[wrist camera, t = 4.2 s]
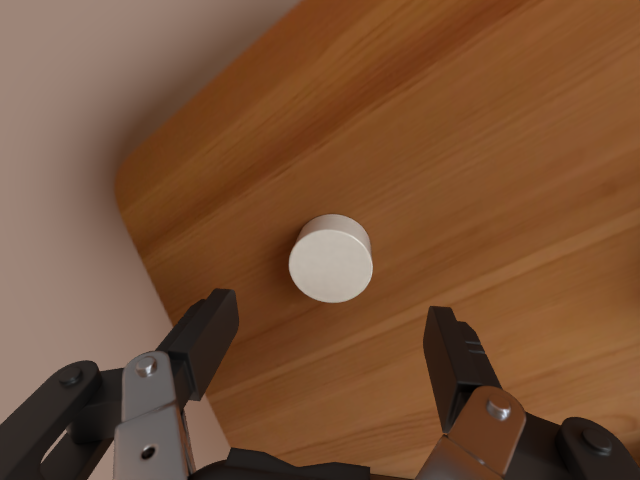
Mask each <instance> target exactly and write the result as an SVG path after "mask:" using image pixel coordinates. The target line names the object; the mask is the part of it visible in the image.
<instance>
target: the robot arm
mask: <svg viewBox="0 0 640 480" xmlns="http://www.w3.org/2000/svg"><path fill="white" fill-rule="evenodd" d="M238 326H239V316H238V309H237V302H236V295H235V291H234V290H231V289H218V288H216V289H214V290H213V291H212V293H211V294H210V295H209V297H208V298H207V299H206V300H205V299H201V300H200V301H198V302H197V303H195V304H194V305H192V306H191V307H190V308H189V309H188V311H187V312H186V313H185V314H184V317H182V318H181V319H180V320H179V322H178V324H176V325H175V326H174V328H173V329H172V330H171V331H170V333H169V334H168V335H167V336H166V337H165V339H164V340H163V341H162V342H161V344H160V345H159V346H158V348H157V349H156V350H155V351H149V352H146V353H143V354H141V355H139V356H137V357H135V358H134V359H133V360H131V361H130V362H129V363H128V364H127V365H126V367H125V368H119V369H112V370H106V371H99V368H98V366H97V364H96V363H95V362H93V361H87V360H86V361H79V362H75V363H72V364H69V365H67V366H65V367H63V368H61V369H60V370H58V371H57V372H55V373H54V374H53V375H52V376H51V377H50V378H48V379H47V380H46V381H45V383H43V384H42V385H41V386H40V387H39V388H38V389H37V390H36V391H35V392H34V393H33V394H32V395H31V396H30V397H29V398H28V399H27V400H26V401H25V402H24V403H23V404H21V405H20V407H18V408H17V409H16V410H15V411H14V412H13V413H12V414H11V415H10V416H9V417H8V418H7V419H6V420H5V421H4V422H3V423H2V424H1V425H0V480H87V479H88V477H89V476H90V475H91V473H92V472H93V470H94V469H95V467H96V466H97V464H98V463H99V461H100V460H101V458H102V457H103V455H104V454H105V452H106V451H107V449H108V448H109V446H110V444H111V443H112V441H113V440H114V465H113V480H370V467H367V466H360V465H353V464H345V463H338V462H331V463H324V464H317V465H310V466H303V467H295V466H293V465H291V464H289V463H286V462H284V461H282V460H280V459H278V458H276V457H274V456H271V455H269V454H267V453H265V452H260V451H253V450H246V449H239V448H232V447H231V449H230V452H229V455H228V457H227V460H222V461H218V462H215V463H212V464H209V465H207V466H205V467H203V468H201V469H199V470H197V471H196V467H195V464H194V459H193V454H192V448H191V443H190V437H189V432H188V427H187V421H186V416H185V411H184V407H185V405H186V403H187V402H188V400H193V401H200V400H201V398H202V396H203V395H204V393H205V391H206V389H207V387H208V385H209V383H210V382H211V380H212V378H213V376H214V374H215V372H216V370H217V369H218V367H219V365H220V363H221V361H222V359H223V357H224V355H225V354H226V352H227V350H228V348H229V346H230V344H231V342H232V340H233V339H234V337H235V335H236V333H237V330H238ZM423 348H424V354H425V359H426V363H427V367H428V371H429V376H430V380H431V384H432V388H433V393H434V397H435V401H436V405H437V410H438V414H439V418H440V422H441V427H442V431H443V433H448V434H447V435H445V434H444V435H443V436H442V437H441V438H440V440H439V441H438V443H437V444H436V446H435V447H434V449H433V451H432V452H431V454H430V456H429V457H428V459H427V460H426V462H425V464H424V465H423V467H422V468H421V470H420V472H419V473H418V475H417V476H416V478H415V480H640V468H639V467H638V465H637V464H636V462H635V461H634V459H633V458H632V457H631V455H630V454H629V452H628V451H627V449H626V448H625V446H624V445H623V444H622V443H621V442H620V440H619V439H618V438H617V437H615V436H614V435H613V434H612V433H611V432H609V431H608V430H607V429H605V428H604V427H602V426H600V425H599V424H597V423H595V422H593V421H590V420H587V419H584V418H580V417H570V418H567V419H565V420H564V421H563V423H562V425H558V424H555V423H552V422H550V421H547V420H544V419H542V418H539V417H536V416H534V415H532V414H529V413H528V412H526V411H524V408H523V407H522V405H521V404H520V403H519V402H518V400H517V399H516V398H514V397H513V396H512V395H511V394H509V393H508V392H506V391H504V390H503V389H502V387H501V385H500V383H499V381H498V378H497V376H496V374H495V372H494V370H493V368H492V366H491V364H490V362H489V359H488V357H487V355H486V354H485V351H484V349H483V347H482V345H481V343H480V340H479V338H478V336H477V334H476V332H475V331H474V330H473V329H472V328H471V327H470V326H469V325H468V324H467V323H466V322H460V321H457V320H456V318H455V315H454V313H453V311H452V309H451V308H450V307H439V306H430V308H429V311H428V316H427V321H426V326H425V332H424V337H423ZM65 429H66V431H67V433H66V434H65V435H64V437H63V438H62V439H61V440H60V441H59V443H58V444H57V445H56V446H55V447H54V449H53V450H52V451H51V452H50V453H49V455H48V456H47V457H46V458H45V460H44V461H43V462H42V463H41V460H42V458H43V456H44V455H45V453H46V452H47V450H48V449H49V448H50V447H51V446H52V444H53V443H54V442H55V441H56V440H57V438H58V437H59V436H60V435H61V434H62V432H63V431H64V430H65Z"/></svg>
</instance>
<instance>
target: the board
mask: <svg viewBox="0 0 640 480" xmlns="http://www.w3.org/2000/svg"><path fill="white" fill-rule="evenodd" d="M370 480H410V479H402V478H395V477H387V476H380V475H373V474H370Z"/></svg>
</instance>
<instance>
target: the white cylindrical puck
mask: <svg viewBox="0 0 640 480" xmlns="http://www.w3.org/2000/svg"><path fill="white" fill-rule="evenodd" d="M289 271H290V275H291V277H292V279H293V281H294V283H295V284H296V286H297V287H298V288H299V289H300V290H301V291H302V292H303V293H305V294H306V295H308V296H309V297H311V298H313V299H316V300H318V301H322V302H328V303H337V302H343V301H347V300H350V299H352V298H354V297H356V296H357V295H359V294H360V293H361V292H362V291H363V290H364V289H365V288H366V286H367V285H368V283H369V281H370V279H371V276H372V271H373V264H372V252H371V243H370V239H369V237H368V235H367V233H366V231H365V230H364V229H363V227H362V226H361V225H360V224H358V223H357V222H356V221H354V220H352V219H351V218H348V217H346V216H342V215H336V214H328V215H322V216H319V217H316V218H314V219H312V220H311V221H309V222H308V223H307V224H306V225H305V226H304V227H303V228H302V230H301V231H300V233H299V235H298V237H297V239H296V242H295V244H294V246H293V248H292V251H291V253H290V257H289Z"/></svg>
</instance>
